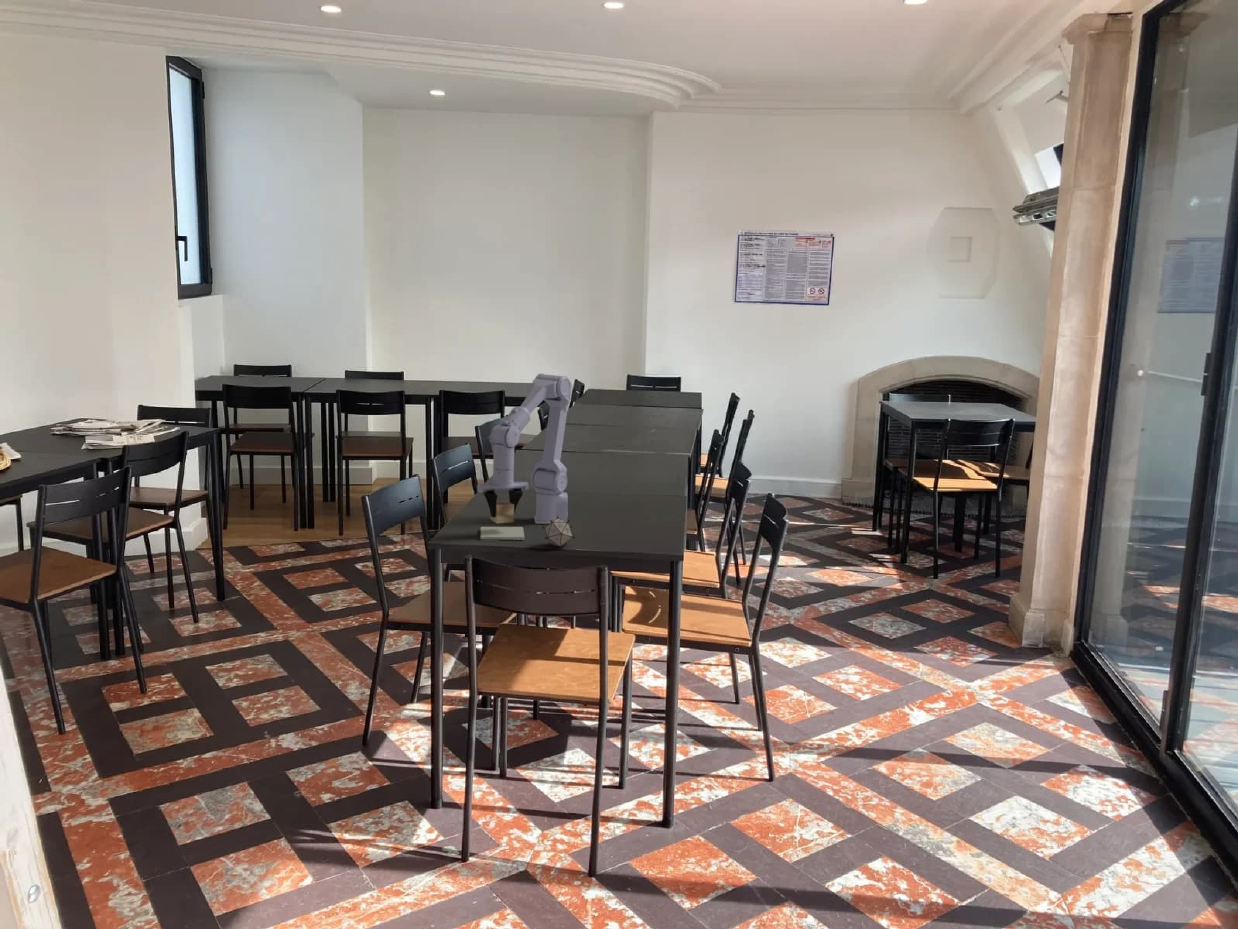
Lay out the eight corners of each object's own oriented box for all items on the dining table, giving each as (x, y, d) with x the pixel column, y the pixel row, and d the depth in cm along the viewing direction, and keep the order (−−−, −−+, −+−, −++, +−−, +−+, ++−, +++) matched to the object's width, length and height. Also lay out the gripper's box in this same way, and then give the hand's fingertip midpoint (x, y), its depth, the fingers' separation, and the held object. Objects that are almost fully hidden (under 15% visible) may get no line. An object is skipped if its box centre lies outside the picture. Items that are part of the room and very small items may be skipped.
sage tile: (522, 530, 272) (522, 527, 272) (524, 540, 262) (524, 537, 261) (480, 530, 271) (480, 526, 270) (480, 540, 260) (480, 536, 260)
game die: (553, 558, 259) (551, 524, 264) (581, 550, 257) (578, 516, 261) (538, 548, 252) (535, 514, 256) (566, 541, 249) (563, 506, 253)
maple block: (507, 518, 269) (507, 500, 268) (513, 522, 265) (514, 504, 264) (490, 519, 267) (491, 502, 266) (496, 523, 262) (497, 506, 261)
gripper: (522, 464, 269) (521, 510, 272) (473, 467, 263) (473, 514, 265) (531, 469, 263) (530, 516, 266) (482, 471, 257) (481, 520, 259)
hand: (502, 515), depth 265 cm, fingers closed on maple block, 5 cm apart
